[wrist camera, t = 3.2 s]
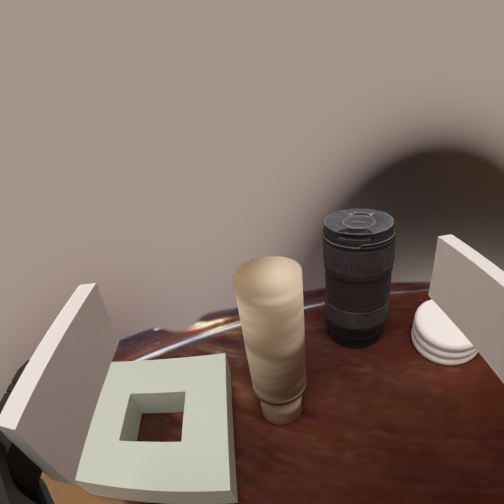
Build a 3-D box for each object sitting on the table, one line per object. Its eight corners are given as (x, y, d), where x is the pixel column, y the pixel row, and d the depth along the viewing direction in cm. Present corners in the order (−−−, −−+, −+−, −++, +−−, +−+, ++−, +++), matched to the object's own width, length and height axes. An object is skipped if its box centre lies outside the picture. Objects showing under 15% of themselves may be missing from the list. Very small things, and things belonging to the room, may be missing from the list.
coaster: (405, 317, 38) (409, 295, 37) (468, 315, 35) (474, 294, 34) (415, 370, 30) (422, 347, 28) (487, 364, 27) (497, 342, 25)
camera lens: (327, 309, 42) (326, 206, 36) (384, 312, 40) (393, 208, 33) (318, 348, 36) (316, 232, 29) (384, 353, 33) (400, 235, 26)
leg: (301, 387, 31) (294, 252, 24) (310, 423, 26) (310, 284, 19) (255, 394, 30) (230, 261, 24) (260, 431, 26) (232, 296, 19)
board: (230, 374, 34) (225, 353, 32) (237, 502, 19) (230, 490, 18) (119, 382, 33) (108, 362, 32) (91, 494, 19) (71, 479, 17)
